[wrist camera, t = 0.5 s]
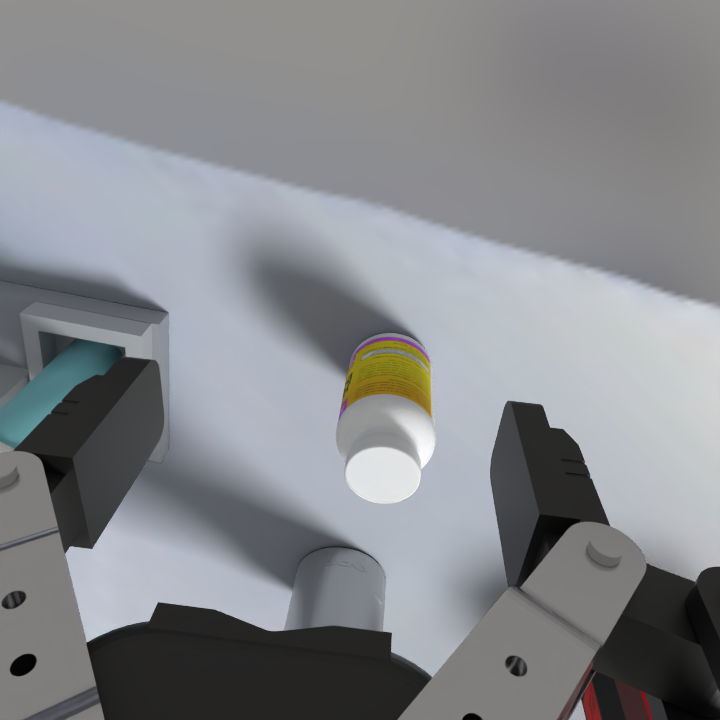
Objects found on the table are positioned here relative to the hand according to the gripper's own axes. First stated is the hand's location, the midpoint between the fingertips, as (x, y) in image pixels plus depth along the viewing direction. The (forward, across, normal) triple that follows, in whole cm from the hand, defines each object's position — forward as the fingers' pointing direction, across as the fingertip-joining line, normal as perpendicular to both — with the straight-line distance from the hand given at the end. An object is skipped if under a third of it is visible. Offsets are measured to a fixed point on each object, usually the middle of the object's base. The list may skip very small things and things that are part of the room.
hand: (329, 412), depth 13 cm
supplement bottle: (+29, +2, -16) cm, 33 cm away
